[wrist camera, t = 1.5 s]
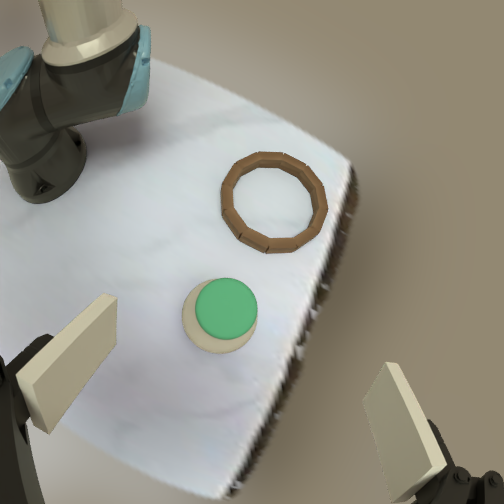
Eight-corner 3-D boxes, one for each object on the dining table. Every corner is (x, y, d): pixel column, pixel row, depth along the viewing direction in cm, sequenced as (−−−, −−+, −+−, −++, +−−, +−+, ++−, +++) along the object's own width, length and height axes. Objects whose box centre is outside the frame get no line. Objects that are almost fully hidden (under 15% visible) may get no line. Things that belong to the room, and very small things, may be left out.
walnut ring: (202, 222, 44) (202, 215, 42) (248, 145, 49) (250, 136, 47) (300, 271, 44) (305, 267, 42) (333, 188, 50) (338, 181, 47)
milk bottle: (253, 329, 41) (299, 320, 22) (207, 360, 39) (213, 382, 20) (221, 283, 42) (240, 237, 23) (175, 313, 40) (152, 292, 21)
